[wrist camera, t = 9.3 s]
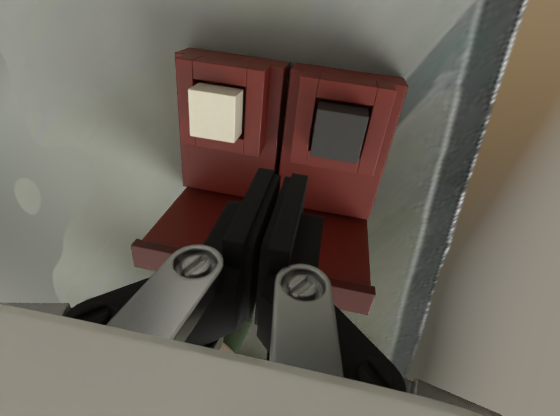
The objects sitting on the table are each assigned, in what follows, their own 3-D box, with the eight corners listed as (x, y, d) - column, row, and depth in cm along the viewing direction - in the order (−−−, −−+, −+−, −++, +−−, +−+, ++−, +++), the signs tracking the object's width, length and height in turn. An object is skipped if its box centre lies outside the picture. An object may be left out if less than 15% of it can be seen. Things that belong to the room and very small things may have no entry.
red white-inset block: (188, 46, 26) (161, 55, 23) (290, 61, 26) (279, 73, 22) (193, 173, 32) (172, 197, 29) (276, 188, 32) (266, 214, 28)
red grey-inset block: (295, 61, 26) (285, 73, 22) (404, 77, 25) (413, 92, 21) (280, 189, 32) (271, 215, 28) (367, 204, 31) (369, 234, 27)
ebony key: (319, 100, 23) (317, 108, 21) (368, 107, 22) (369, 116, 21) (312, 145, 24) (309, 156, 23) (357, 152, 24) (357, 164, 23)
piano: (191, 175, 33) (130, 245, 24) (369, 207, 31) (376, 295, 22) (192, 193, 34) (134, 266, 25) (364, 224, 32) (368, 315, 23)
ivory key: (198, 82, 24) (187, 88, 22) (243, 89, 23) (235, 96, 22) (200, 126, 25) (189, 136, 24) (242, 133, 25) (234, 143, 23)
